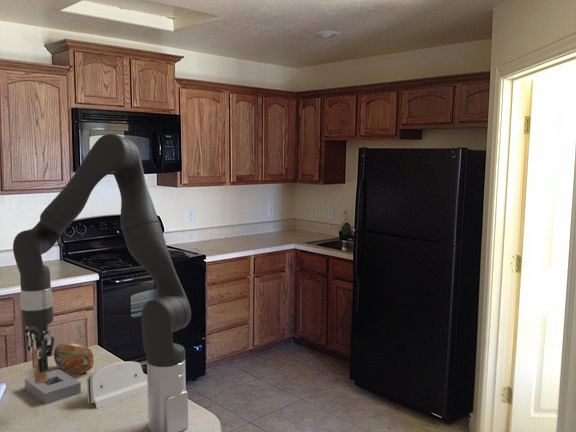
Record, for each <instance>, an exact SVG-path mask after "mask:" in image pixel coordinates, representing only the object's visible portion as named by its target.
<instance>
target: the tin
mask: <svg viewBox="0 0 576 432" xmlns="http://www.w3.org/2000/svg"><path fill="white" fill-rule="evenodd" d="M53 357H54V358H53V359H54V362H55V365H57V367H58V368H59V369H60V370H61V371H66V372H70V373H74V374H78V375H81V374H85V373H87V372H90V371H91V369H92V368H93V367H94V354H93V351H92V350H91V349H90V348H89V347H88V346H86V345H81V344H77V343H71V342H64V343H60V344H58V345H56V347H55V349H54V352H53Z"/></svg>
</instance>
